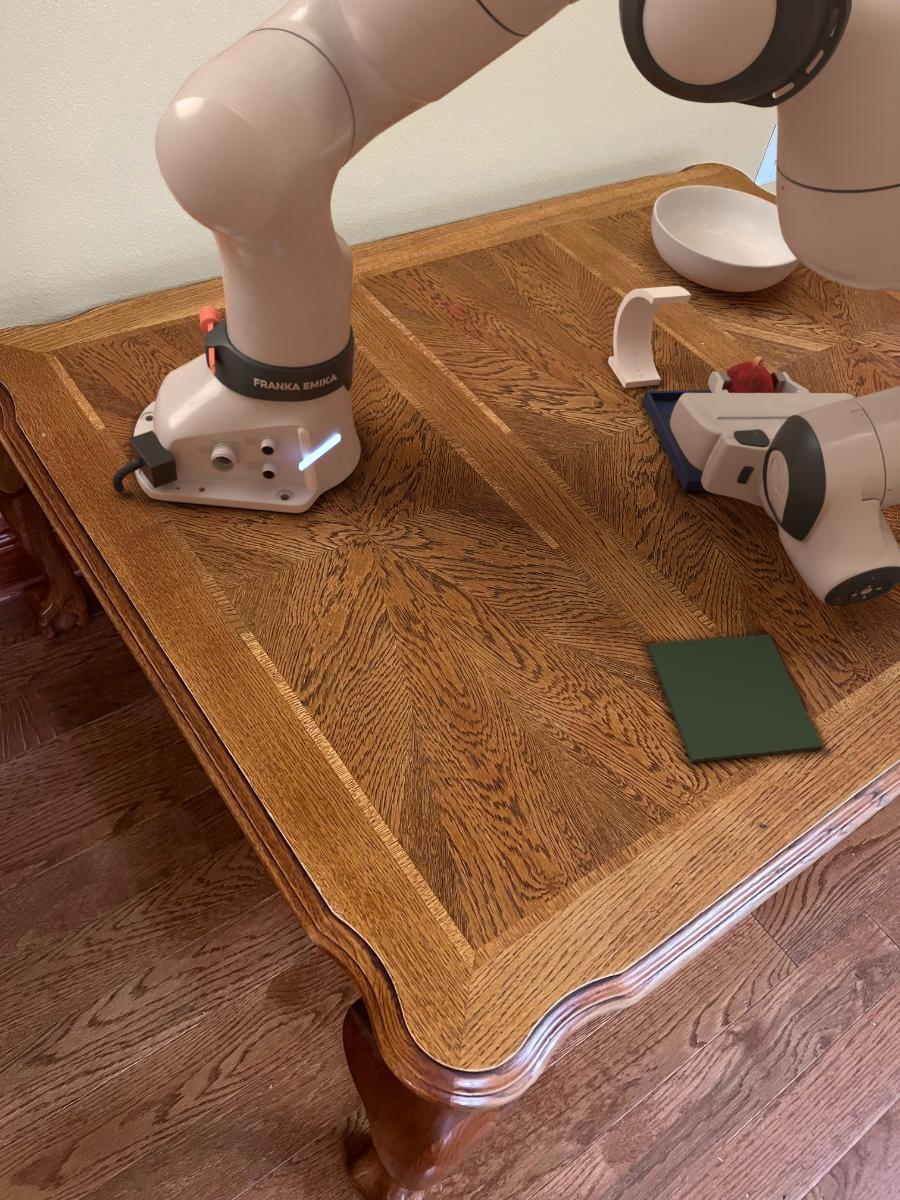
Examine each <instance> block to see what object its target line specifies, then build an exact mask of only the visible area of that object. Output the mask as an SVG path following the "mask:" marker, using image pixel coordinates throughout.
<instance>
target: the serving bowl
mask: <svg viewBox="0 0 900 1200" xmlns="http://www.w3.org/2000/svg"><path fill="white" fill-rule="evenodd" d="M652 208H653V209H652V213H651V223H650V224H651V228H650V229H651V236H652V240H653V243H654V246H655V249H656V250H657V252H658V254H659V255H660V257H661V258H662V260H663V261H664V262H665V263H666V264H667V265H668V266H669V267H670V268H671V269H672V270H673V271H674V272H676V273H678V274H679V275H680V276H682V277H683V278H686V279H687V280H689V281H691V282H693V283H696V284H697V285H699V286H704V287H706V288H709V289H714V290H719V291H724V292H734V293H746V292H747V293H748V292H755V291H761V290H764V289H766V288H769V287H772V286H775V285H776V284H778V283H780V282H781V281H783V280H785V279H786V278H787V277H789V275H791V274H792V272H793V271H794V270H796V268H797V267H798V266H799V264H801V262H800V261H799V260H798V259H797V258H796V257H795V256H794V255H793V253H792V252H791V251H790V249H789V248H788V246H787V244H786V243H785V241H784V239H783V237H782V233H781V229H780V225H779V219H778V211H777V204H774V203H772V202H770V201H768V200H767V199H764V198H762V197H759V196H757V195H754V194H752V193H748V192H746V191H745V192H744V191H741V190H737V189H734V188H728V187H722V186H714V185H707V184H706V185H703V184H698V185H697V184H695V185H694V184H691V185H684V186H679V187H674V188H672V189H669V190H667V191H665V192H663V193H662V194H661V195H660V196H658V197H657V199H656V200H655V202H654V205H653V207H652Z"/></svg>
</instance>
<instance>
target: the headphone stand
mask: <svg viewBox="0 0 900 1200" xmlns="http://www.w3.org/2000/svg"><path fill="white" fill-rule="evenodd" d="M691 297H692V294H691V292H689V291H688V290H687V289H686V288H684V287H683V286H680V285H670V286H669V285H668V286H657V287H642V288H635V289H633V290H631V291H629V292H628V293H626V295H625V296H624V298H622V301H621V303H620V304H619V307H618V309H617V313H616V316H615V320H614V325H613V334H612V335H613V337H612V348H613V349H612V350H613V355H611V356H609V357H608V360H607V364H608V366H609V367H610V368H611V370H612V371H613V373H614V375H615V376H616V378H617V379H618V381H619V383H620V384H621V385H622V387H623V388H624V389H631V388H639V387H640V388H641V387H650V386H651V387H652V386H658V385H660V382H661V380H662V378H661V376H660V375H659V373H658V370H657V367H656V365H655V362H654V357H653V349H652V333H653V326H654V325H653V324H654V320H655V316H656V314H657V311H658V309H659V307H660V305H667V304H678V303H679V304H680V303H689V302H690V301H691Z"/></svg>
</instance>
